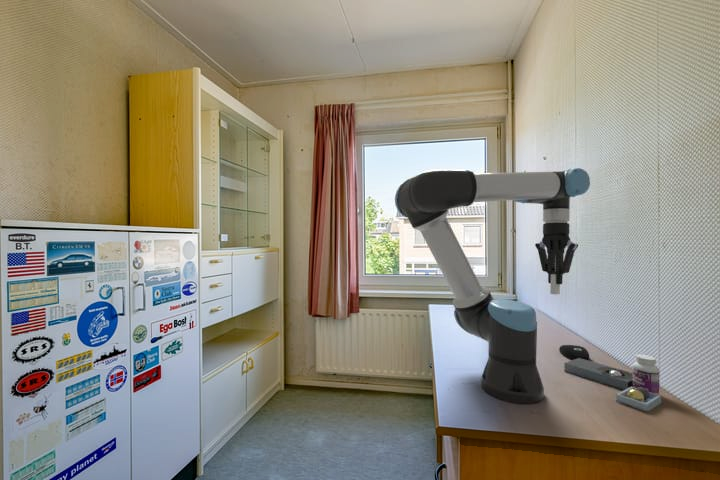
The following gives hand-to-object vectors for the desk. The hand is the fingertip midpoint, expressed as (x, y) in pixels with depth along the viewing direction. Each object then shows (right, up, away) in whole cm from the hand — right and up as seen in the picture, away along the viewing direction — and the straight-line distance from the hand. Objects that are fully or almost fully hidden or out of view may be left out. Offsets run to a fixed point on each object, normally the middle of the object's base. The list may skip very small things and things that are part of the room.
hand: (555, 293), depth 106 cm
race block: (+7, -23, -10) cm, 26 cm away
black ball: (+7, -21, -24) cm, 33 cm away
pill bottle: (+12, -23, -20) cm, 33 cm away
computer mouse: (+12, -24, +7) cm, 28 cm away
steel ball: (+9, -22, -13) cm, 27 cm away
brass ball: (+4, -21, -26) cm, 34 cm away
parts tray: (+5, -23, -25) cm, 35 cm away
